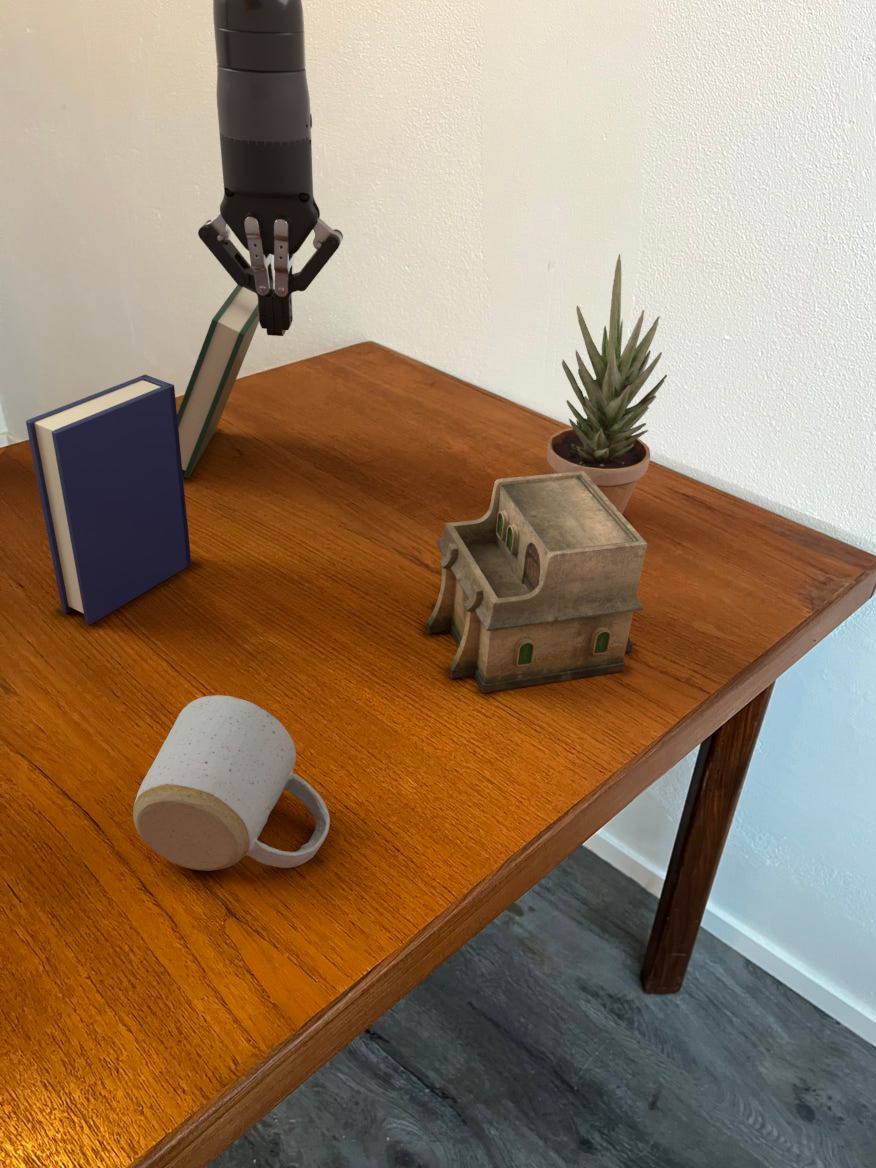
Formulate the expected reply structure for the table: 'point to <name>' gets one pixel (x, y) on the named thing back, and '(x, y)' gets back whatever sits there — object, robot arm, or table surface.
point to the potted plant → (609, 409)
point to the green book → (216, 373)
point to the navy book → (112, 494)
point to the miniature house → (539, 584)
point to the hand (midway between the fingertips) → (277, 332)
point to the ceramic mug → (223, 788)
